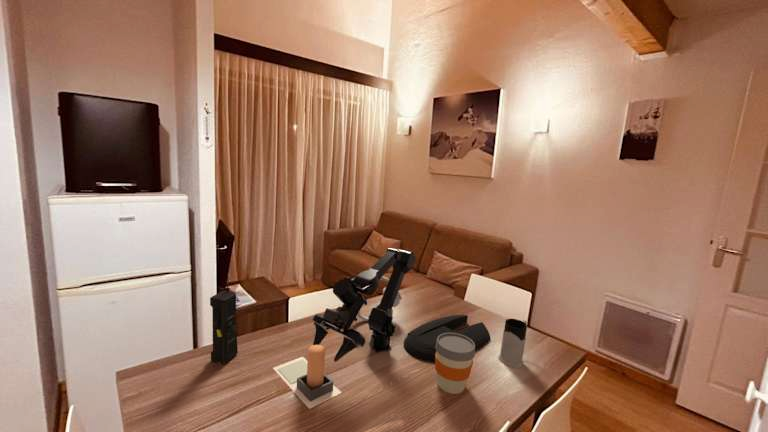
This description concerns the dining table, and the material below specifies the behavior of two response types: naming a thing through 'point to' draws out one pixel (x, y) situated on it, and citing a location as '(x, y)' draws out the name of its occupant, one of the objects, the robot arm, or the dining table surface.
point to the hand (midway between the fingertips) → (323, 355)
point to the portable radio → (224, 326)
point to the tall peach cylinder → (315, 366)
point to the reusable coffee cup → (453, 361)
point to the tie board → (305, 383)
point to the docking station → (426, 335)
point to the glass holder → (513, 343)
